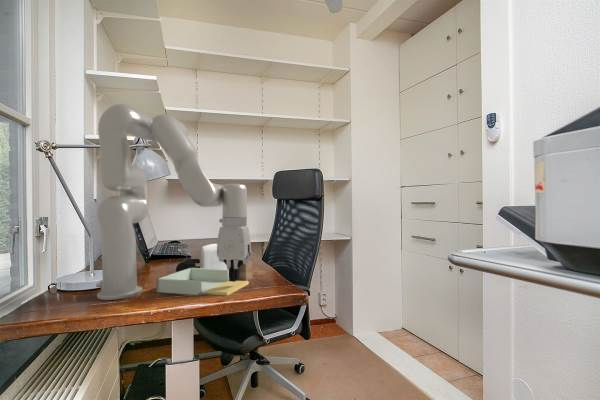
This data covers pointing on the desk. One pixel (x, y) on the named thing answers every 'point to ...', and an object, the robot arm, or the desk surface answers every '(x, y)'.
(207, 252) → the photo printer
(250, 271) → the walnut block
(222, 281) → the pale green tray
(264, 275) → the desk surface
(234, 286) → the tailgate
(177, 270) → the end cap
